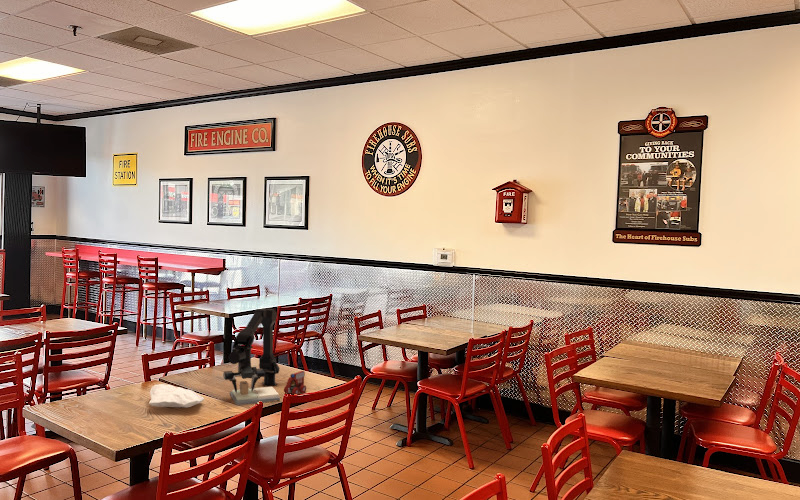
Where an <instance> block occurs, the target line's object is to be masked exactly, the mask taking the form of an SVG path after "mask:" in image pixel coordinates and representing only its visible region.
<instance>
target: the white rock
mask: <svg viewBox="0 0 800 500" xmlns="http://www.w3.org/2000/svg"><path fill="white" fill-rule="evenodd" d="M149 396H150V401H149V402H148V404H149V406H152V407H156V408H158V407H159V408H160V407H161V408H167V407H169V408H191V407H192V406H196V405H198V404H202V402H203V401H204V400H205V398H204V397H203V396H202V395H199V394H198V393H196V392H195V391H194V390H191V389H186V388H183V387H179V386H177V387H175V386H173V385H172V384H164V383H159V384H155V385H153V386H151V389H150V391H149Z"/></svg>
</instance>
